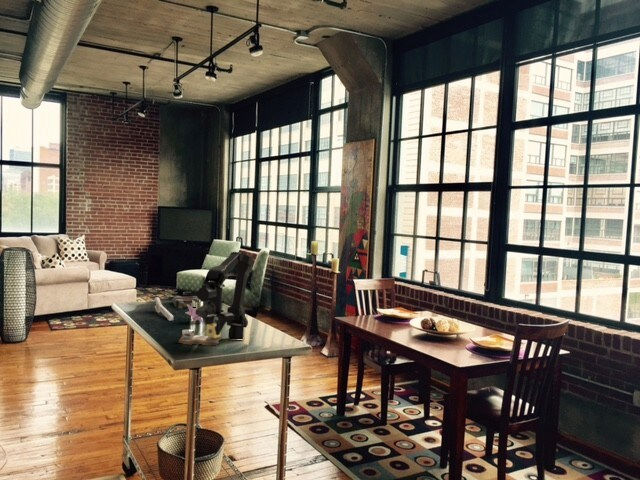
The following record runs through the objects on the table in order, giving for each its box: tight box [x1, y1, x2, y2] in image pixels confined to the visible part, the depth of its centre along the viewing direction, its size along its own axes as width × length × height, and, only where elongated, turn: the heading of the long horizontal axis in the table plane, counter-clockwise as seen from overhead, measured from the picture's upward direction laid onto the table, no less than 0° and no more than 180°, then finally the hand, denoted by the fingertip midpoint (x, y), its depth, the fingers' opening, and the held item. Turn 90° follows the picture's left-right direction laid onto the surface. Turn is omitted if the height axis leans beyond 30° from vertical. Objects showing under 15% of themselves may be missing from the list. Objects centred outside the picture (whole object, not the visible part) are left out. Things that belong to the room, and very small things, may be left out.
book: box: [172, 295, 198, 309], centre depth 328 cm, size 15×25×5 cm, turn 20°
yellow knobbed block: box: [205, 322, 222, 338], centre depth 234 cm, size 4×5×5 cm
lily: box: [184, 304, 204, 324], centre depth 282 cm, size 12×12×10 cm
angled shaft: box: [181, 328, 195, 340], centre depth 243 cm, size 5×3×4 cm, turn 122°
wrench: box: [153, 296, 174, 322], centre depth 297 cm, size 8×2×30 cm
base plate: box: [177, 334, 222, 346], centre depth 244 cm, size 17×11×6 cm, turn 92°
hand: (213, 333), depth 234 cm, fingers closed on yellow knobbed block, 5 cm apart
